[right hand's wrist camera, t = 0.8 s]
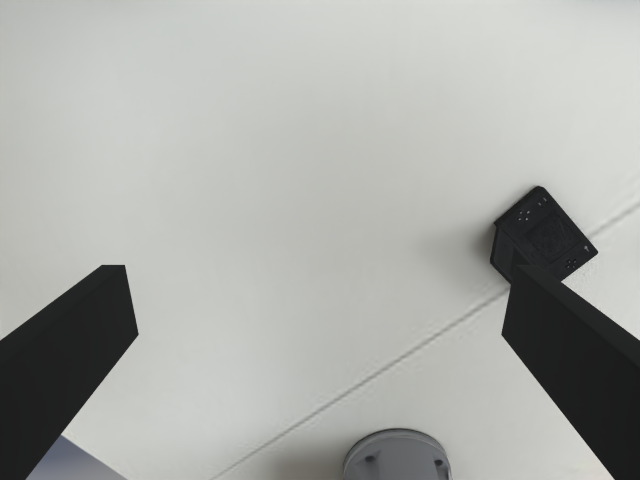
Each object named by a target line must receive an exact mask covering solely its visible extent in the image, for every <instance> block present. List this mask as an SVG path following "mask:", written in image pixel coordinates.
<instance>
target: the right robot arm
mask: <svg viewBox="0 0 640 480" xmlns="http://www.w3.org/2000/svg"><path fill="white" fill-rule="evenodd" d="M138 335H139V334H138V329H137V324H136V319H135V314H134V309H133V304H132V299H131V294H130V289H129V284H128V279H127V274H126V269H125V265H101V266H100V267H99V268H97V269H96V270H95V271H93V272H92V273H91V274H89V275H88V276H86V277H85V278H84V279H82V280H81V281H80V282H78V283H77V284H76V285H74V286H73V287H72V288H70V289H69V290H68V291H66V292H65V293H64V294H62V295H61V296H60V297H58V298H57V299H56V300H54V301H53V302H52V303H50V304H49V305H48V306H46V307H45V308H43V309H42V310H41V311H39V312H38V313H37V314H35V315H34V316H33V317H31V318H30V319H29V320H27V321H26V322H25V323H23V324H22V325H21V326H19V327H18V328H17V329H15V330H14V331H13V332H11V333H10V334H9V335H7V336H6V337H5V338H3V339H2V340H0V480H25V479H26V478H27V477H28V476H29V474H30V473H31V472H32V470H33V469H34V468H35V467H36V465H37V464H38V463H39V461H40V460H41V459H42V458H43V456H44V455H45V454H46V453H47V451H48V450H49V449H50V447H51V446H52V445H53V444H54V442H55V441H56V440H57V438H58V437H59V436H60V435H61V433H62V432H63V431H64V429H65V428H66V427H67V426H68V424H69V423H70V422H71V421H72V419H73V418H74V417H75V415H76V414H77V413H78V412H79V410H80V409H81V408H82V406H83V405H84V404H85V403H86V401H87V400H88V399H89V398H90V396H91V395H92V394H93V392H94V391H95V390H96V389H97V387H98V386H99V385H100V383H101V382H102V381H103V380H104V378H105V377H106V376H107V374H108V373H109V372H110V371H111V369H112V368H113V367H114V366H115V364H116V363H117V362H118V360H119V359H120V358H121V357H122V355H123V354H124V353H125V351H126V350H127V349H128V348H129V346H130V345H131V344H132V343H133V341H134V340H135V339H136V337H137V336H138ZM501 335H502V336H503V337H504V339H505V340H506V341H507V343H508V344H509V345H510V346H511V348H512V349H513V350H514V351H515V353H516V354H517V355H518V357H519V358H520V359H521V360H522V362H523V363H524V364H525V366H526V367H527V368H528V369H529V371H530V372H531V373H532V374H533V376H534V377H535V378H536V380H537V381H538V382H539V383H540V385H541V386H542V387H543V389H544V390H545V391H546V392H547V394H548V395H549V396H550V398H551V399H552V400H553V401H554V403H555V404H556V405H557V406H558V408H559V409H560V410H561V412H562V413H563V414H564V415H565V417H566V418H567V419H568V421H569V422H570V423H571V424H572V426H573V427H574V428H575V429H576V431H577V432H578V433H579V435H580V436H581V437H582V438H583V440H584V441H585V442H586V444H587V445H588V446H589V447H590V449H591V450H592V451H593V453H594V454H595V455H596V456H597V458H598V459H599V460H600V461H601V463H602V464H603V465H604V467H605V468H606V469H607V470H608V472H609V473H610V474H611V476H612V477H613V478H614V479H615V480H640V340H638V339H637V338H635V337H634V336H633V335H631V334H630V333H629V332H627V331H626V330H625V329H623V328H622V327H621V326H619V325H618V324H617V323H615V322H614V321H613V320H611V319H610V318H609V317H607V316H606V315H605V314H603V313H602V312H601V311H599V310H598V309H597V308H595V307H594V306H592V305H591V304H590V303H588V302H587V301H586V300H584V299H583V298H582V297H580V296H579V295H578V294H576V293H575V292H574V291H572V290H571V289H570V288H568V287H567V286H566V285H564V284H563V283H562V282H560V281H559V280H558V279H556V278H555V277H554V276H552V275H551V274H549V273H548V272H547V271H545V270H544V269H543V268H541V267H540V266H539V265H515V269H514V274H513V279H512V284H511V289H510V294H509V299H508V304H507V309H506V314H505V319H504V324H503V329H502V334H501ZM343 474H344V480H453V479H452V475H451V470H450V465H449V462H448V459H447V456H446V453H445V451H444V450H443V448H442V447H441V446H440V444H439V443H437V442H436V441H435V440H434V439H432V438H431V437H429V436H427V435H425V434H422V433H419V432H416V431H411V430H387V431H382V432H379V433H375V434H373V435H370V436H368V437H366V438H364V439H363V440H361V441H360V442H358V443H357V444H356V445H355V446H354V447H353V448H352V449H351V450H350V451H349V453H348V454H347V456H346V458H345V461H344V466H343Z"/></svg>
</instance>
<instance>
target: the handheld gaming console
mask: <svg viewBox="0 0 640 480" xmlns="http://www.w3.org/2000/svg"><path fill="white" fill-rule="evenodd" d="M494 224H495V225H496V226H497V228H496V232H495V237H494V242H493V247H492V252H491V257H490V263H491V264H492V266H493V267H494V268H495V269H496V270H497V271H498V272H499V273H500V274H501V275H502V276H503V277H504V278H505V279H506V280H507V281H508V282H509V283H510V284H512V279H513V274H514V269H515V265H539V266H540V267H541V268H543V269H544V270H545V271H547V272H548V273H549V274H551V275H552V276H554V277H555V278H556V279H558V280H559V281H560V282H561V281H562V280H564V279H565V278H566V277H568V276H569V275H570V274H572V273H573V272H574V271H576V270H577V269H578V268H580V267H581V266H582V265H584V264H585V263H586V262H587V261H589V260H590V259H591V258H593V257H594V256H595V255H597V254H598V251H597V250H596V248H595V247H594V246H593V245H592V244H591V242H590V241H589V240H588V239H587V238H586V236H585V235H584V234H583V233H582V232H581V231H580V229H579V228H578V227H577V226H576V225H575V223H574V222H573V221H572V220H571V219H570V218H569V216H568V215H567V214H566V213H565V212H564V210H563V209H562V208H561V207H560V206H559V205H558V203H557V202H556V201H555V200H554V199H553V197H552V196H551V195H550V194H549V193H548V192H547V190H546V189H545V188H543V187H540V186H537V187H536V188H535V189H533V190H532V191H531V192H530V193H529V194H528V195H527V196H525V197H524V198H523V199H522V200H521V201H519V202H518V203H517V204H516V205H515V206H514V207H512V208H511V209H510V210H509V211H508V212H506V213H505V214H504V215H503V216H502V217H500V218H499V219H498V220H497V221H496V222H494Z"/></svg>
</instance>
